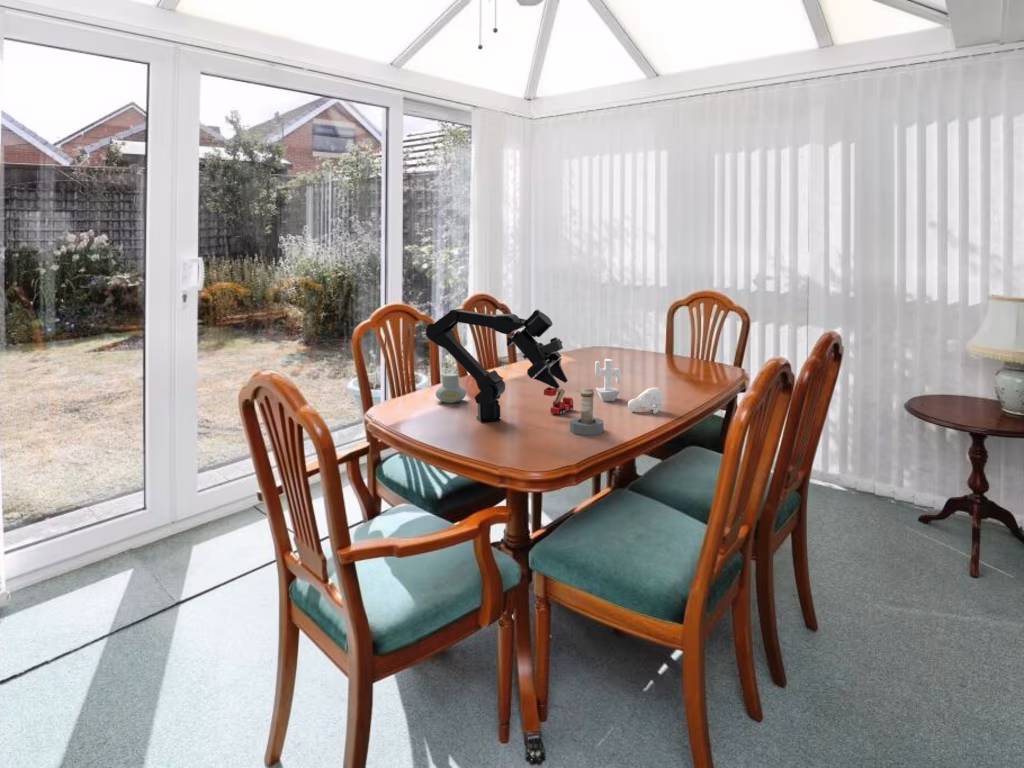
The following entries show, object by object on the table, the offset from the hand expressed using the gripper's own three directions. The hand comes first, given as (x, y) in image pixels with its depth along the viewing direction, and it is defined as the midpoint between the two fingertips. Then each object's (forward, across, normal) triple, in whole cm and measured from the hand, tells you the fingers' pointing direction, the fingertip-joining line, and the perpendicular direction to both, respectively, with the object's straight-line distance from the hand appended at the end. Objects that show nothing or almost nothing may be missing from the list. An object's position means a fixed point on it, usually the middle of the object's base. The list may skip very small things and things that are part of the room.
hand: (562, 384), depth 199 cm
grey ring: (+15, -1, +4) cm, 16 cm away
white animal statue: (+25, +27, -6) cm, 37 cm away
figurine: (+14, +40, +5) cm, 43 cm away
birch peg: (+15, -1, +4) cm, 16 cm away
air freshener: (-23, +19, +43) cm, 52 cm away
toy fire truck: (+6, +16, +13) cm, 22 cm away
